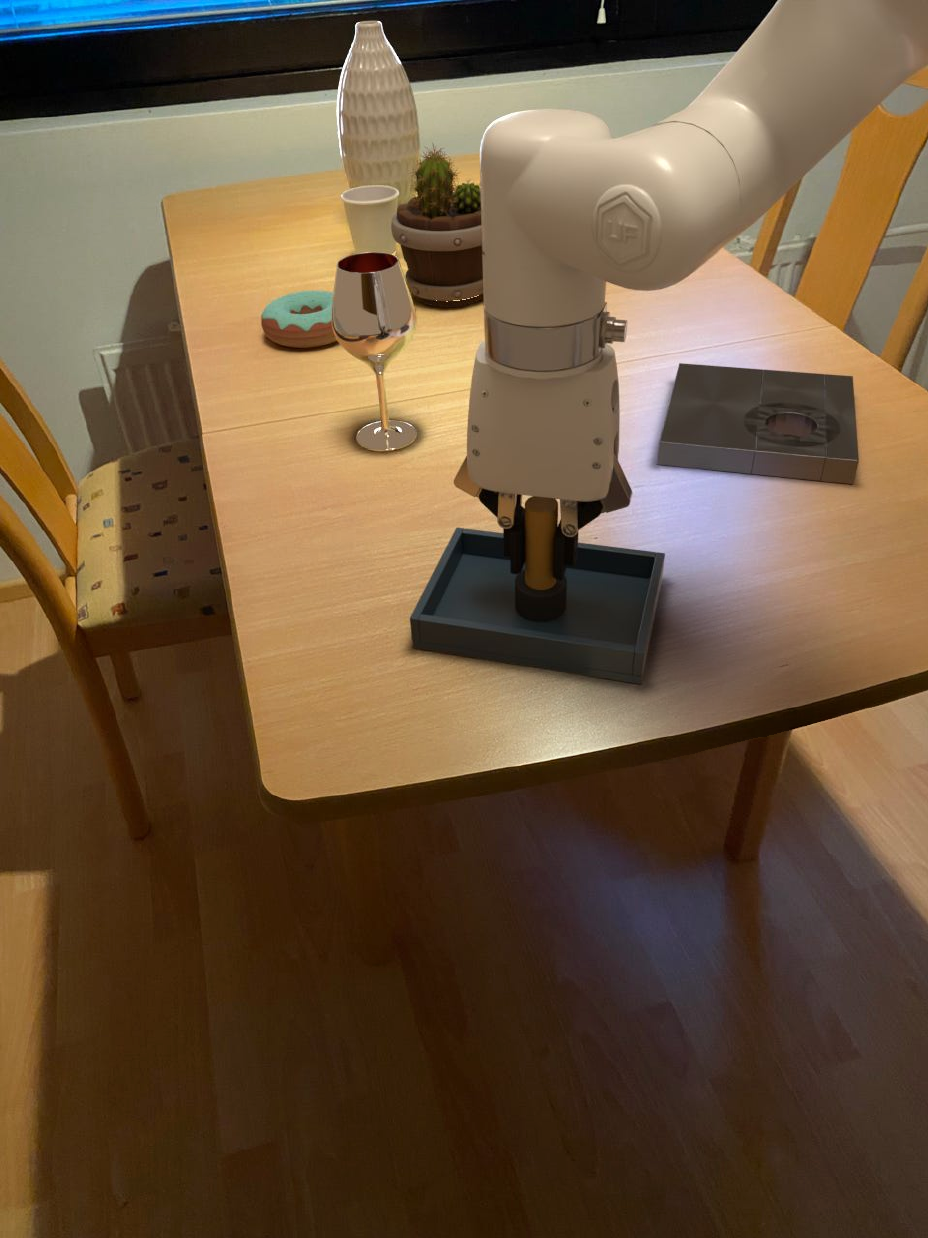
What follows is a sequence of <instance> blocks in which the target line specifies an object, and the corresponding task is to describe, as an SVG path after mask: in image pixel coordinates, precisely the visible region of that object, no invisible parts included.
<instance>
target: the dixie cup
mask: <svg viewBox="0 0 928 1238" xmlns="http://www.w3.org/2000/svg"><path fill="white" fill-rule="evenodd" d="M398 196H399V191H398V190H397V189H396V188H393V187H390V186H383V185H369V186H361V187H356V188H352V189H349V188H348V189H347V190H344V191H343V192H342V193H341V195H340V199H341V201H342V203H343V207H344V211H345V215H346V220H347V224H348V228H349V233H350V237H351V241H352V246H353V248H354V250H353V251H354V254H359V253H367V252H382V253H388V254H393V253H394V252H395V251H396V252H397V242H396V241H395V240H394V238H393V235H392V230H391V223H392V217H393V216H394V214H396V213H397V204H398Z"/></svg>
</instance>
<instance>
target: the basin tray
mask: <svg viewBox="0 0 928 1238" xmlns="http://www.w3.org/2000/svg"><path fill="white" fill-rule="evenodd" d="M665 557H666V553H665V552H658V551H657V552H656V551H650V550H643V549H633V548H626V547H617V546H611V545H603V544H593V543H586V542H578V553H577V559H576V563H575V565H574V566H572V565H567V568H566V571H565V574H564V575H565V577H566V579H567V596H566V609H565V612H564V613H563V614H562V615H561V616H560V617H558V618H557V619H554V620H552V621H547V622H535V621H530V620H527V619H525V618H523V617H522V616H520V615H519V614H518V612H517V611H516V608H515V578H516V576H517V575H518V574H519V573H518V574H511V572H510V557H505V556H504V535H503V532H498V531H497V532H496V531H489V530H481V529H474V528H464V527H455V529H454V532H453V533H452V535H451V537H450V539H449V541H448V543H447V545H446V547H445V548H444V551H443V553H442V554H441V557H440V559H439V560H438V562H437V564H436V566H435V568H434V571H433V572H432V574H431V575H430V578H429V580H428V582H427V584H426V585H425V588H424V590H423V591H422V594H421V596H420V597H419V599H418V601H417V603H416V605H415V607H414V608H413V611H412V613H411V615H410V617H409V625H410V632H411V642H412V643H411V644H412V648H413V649H418V650H424V651H429V652H436V653H442V654H449V655H455V656H462V657H468V658H473V659H481V660H486V661H493V662H499V663H503V664H505V663H506V664H510V665H519V666H524V667H530V668H536V669H543V670H548V671H556V672H562V673H568V674H575V675H581V676H588V677H592V678H598V679H599V678H600V679H607V680H612V681H619V682H625V683H631V684H636V685H641V684H642V682H643V678H644V673H645V667H646V662H647V657H648V652H649V647H650V642H651V637H652V632H653V628H654V623H655V619H656V618H655V617H656V613H657V607H658V603H659V598H660V594H661V589H662V584H663V575H664V567H665V566H664V565H665ZM524 569H525V563H524V566H523V568H522V570H524Z"/></svg>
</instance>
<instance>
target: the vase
mask: <svg viewBox="0 0 928 1238" xmlns="http://www.w3.org/2000/svg"><path fill="white" fill-rule="evenodd" d="M354 26H355V30H354V31H355V33H354V38H353V41H352V43H351V46H350V49H349V51H348V53H347V56H346V58H345V62H344V64H343V66H342V70H341V73H340V77H339V83H338V89H337V99H336V125H337V136H338V145H339V153H340V158H341V164H342V168H343V172H344V176H345V180H346V183H347V186H348V190H349V189H352V188H356V187H361V186H369V185H383V186H390V187H393V188H396V189H397V190H398V191H399V196H398V204H397V207H398V206H399V205H401V204H407V203H408V202H409V200H410V199H412V198H413V197H414V196H416V193H417V192H415V191H414V192H415V193H414V192H413V191H412V190H413V189H411V188H413V187H415V185H414V184H415V183H413V182H415V181H416V179H417V178H415V177H416V174H415V172H414V171H417V170H418V168H417V167H419V166H420V164H419V163H420V162H419V161H420V160H421V156H419V155H421V139H420V125H419V118H418V117H419V116H418V110H417V106H416V101H415V95H414V92H413V89H412V86H411V83H410V80H409V77H408V75H407V72H406V70H405V68H404V66H403V64H402V62H401V59H399V56H397V53H396V52H395V49H394V48H393V47H392V45H391V43H390V41H388V39H387V36H386V35H385V33H384V29H383V24H382V22H381V21H379V20H363V21H359V22H356V24H355V25H354ZM417 160H418V161H417ZM418 162H419V163H418ZM417 164H419V166H418V165H417ZM415 165H416V166H415ZM413 169H415V170H413ZM413 172H414V173H413ZM409 173H410V174H409ZM413 174H415V175H414V176H413V177H411V176H412V175H413ZM411 178H412V179H411ZM412 181H413V182H412ZM416 183H417V181H416ZM410 185H411V186H410ZM413 185H414V186H413ZM412 186H413V187H412ZM412 194H413V195H414V196H413V195H412Z"/></svg>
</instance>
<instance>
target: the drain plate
mask: <svg viewBox="0 0 928 1238" xmlns="http://www.w3.org/2000/svg"><path fill="white" fill-rule="evenodd" d="M675 374H676V375H675V379H674V382H673V386H672V390H671V394H670V398H669V402H668V405H667V410H666V414H665V418H664V422H663V426H662V429H661V433H660V438H659V441H658V450H657V459H656V460H657V462H656V465H659V466H669V467H680V468H688V469H689V468H690V469H699V470H707V471H708V470H709V471H718V472H727V473H739V474H747V475H758V476H769V477H777V478H778V477H779V478H788V479H796V480H797V479H798V480H808V481H817V482H818V481H819V482H827V483H836V484H846V485H853V484H854V482H855V478H856V473H857V470H858V467H859V463H860V457H859V443H858V429H857V417H856V415H857V414H856V401H855V400H856V399H855V390H854V389H855V388H854V387H855V386H854V376H853V375H842V374H830V373H829V374H828V373H816V372H815V373H813V372H804V371H803V372H802V371H791V370H790V371H789V370H788V371H787V370H774V369H773V370H772V369H763V368H762V369H761V368H750V367H748V368H747V367H735V366H722V365H721V366H720V365H709V364H708V365H707V364H697V363H695V364H693V363H683V362H679V363H678V365H677V370H676V373H675Z"/></svg>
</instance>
